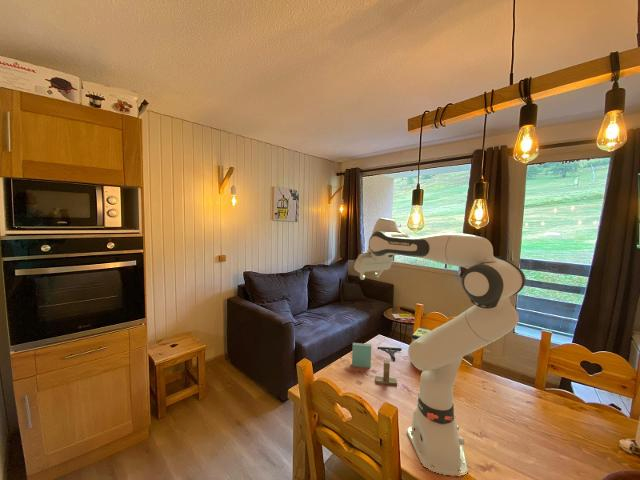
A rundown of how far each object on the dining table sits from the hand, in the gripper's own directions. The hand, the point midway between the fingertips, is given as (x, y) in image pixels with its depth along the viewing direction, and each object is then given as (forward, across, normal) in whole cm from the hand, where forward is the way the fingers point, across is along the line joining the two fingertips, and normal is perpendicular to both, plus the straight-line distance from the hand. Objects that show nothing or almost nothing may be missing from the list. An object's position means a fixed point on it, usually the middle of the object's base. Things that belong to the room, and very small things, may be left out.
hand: (369, 278), depth 125 cm
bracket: (+54, +32, -4) cm, 64 cm away
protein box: (+50, +45, -16) cm, 69 cm away
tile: (+54, +8, -4) cm, 54 cm away
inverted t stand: (+48, +9, -21) cm, 53 cm away
